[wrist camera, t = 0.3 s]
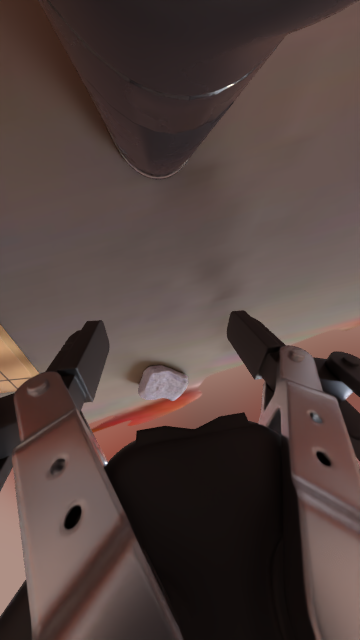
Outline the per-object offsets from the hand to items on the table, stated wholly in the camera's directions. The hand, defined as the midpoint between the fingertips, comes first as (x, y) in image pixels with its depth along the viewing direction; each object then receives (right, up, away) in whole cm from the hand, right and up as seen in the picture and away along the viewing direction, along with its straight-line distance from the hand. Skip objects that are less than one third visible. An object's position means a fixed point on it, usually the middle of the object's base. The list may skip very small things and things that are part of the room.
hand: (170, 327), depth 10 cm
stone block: (-4, -15, +32) cm, 35 cm away
